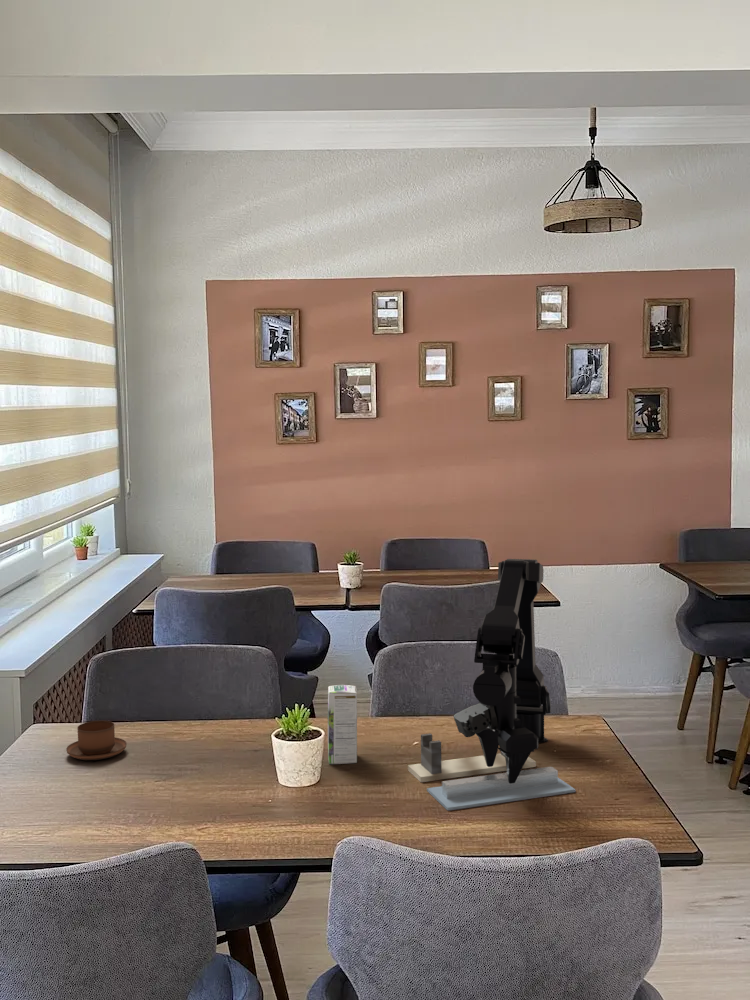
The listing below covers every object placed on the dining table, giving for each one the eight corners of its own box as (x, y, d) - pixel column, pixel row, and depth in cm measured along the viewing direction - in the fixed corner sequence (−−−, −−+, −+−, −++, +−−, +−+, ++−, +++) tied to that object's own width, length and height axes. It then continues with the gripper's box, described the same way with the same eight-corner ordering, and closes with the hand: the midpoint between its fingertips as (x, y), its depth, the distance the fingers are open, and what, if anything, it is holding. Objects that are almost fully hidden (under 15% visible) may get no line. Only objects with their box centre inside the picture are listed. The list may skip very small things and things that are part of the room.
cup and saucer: (54, 761, 207) (52, 731, 206) (91, 743, 218) (90, 714, 217) (103, 767, 202) (101, 737, 202) (138, 749, 213) (137, 720, 213)
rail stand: (519, 755, 205) (519, 721, 204) (536, 766, 198) (535, 731, 198) (407, 770, 198) (407, 734, 197) (420, 782, 191) (420, 745, 190)
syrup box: (327, 755, 207) (326, 685, 206) (356, 754, 207) (355, 684, 206) (328, 764, 201) (327, 692, 200) (358, 763, 202) (357, 691, 201)
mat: (549, 774, 194) (549, 771, 194) (575, 792, 185) (575, 789, 185) (426, 790, 187) (426, 788, 186) (447, 810, 177) (447, 807, 177)
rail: (551, 779, 190) (551, 766, 190) (557, 783, 188) (557, 770, 188) (442, 794, 183) (441, 781, 183) (447, 799, 181) (447, 785, 181)
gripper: (439, 682, 190) (440, 763, 192) (480, 708, 173) (481, 798, 174) (493, 676, 194) (494, 756, 195) (539, 702, 176) (539, 790, 177)
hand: (500, 774), depth 185 cm, fingers open, 9 cm apart
